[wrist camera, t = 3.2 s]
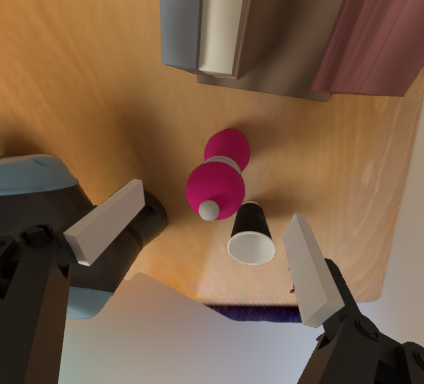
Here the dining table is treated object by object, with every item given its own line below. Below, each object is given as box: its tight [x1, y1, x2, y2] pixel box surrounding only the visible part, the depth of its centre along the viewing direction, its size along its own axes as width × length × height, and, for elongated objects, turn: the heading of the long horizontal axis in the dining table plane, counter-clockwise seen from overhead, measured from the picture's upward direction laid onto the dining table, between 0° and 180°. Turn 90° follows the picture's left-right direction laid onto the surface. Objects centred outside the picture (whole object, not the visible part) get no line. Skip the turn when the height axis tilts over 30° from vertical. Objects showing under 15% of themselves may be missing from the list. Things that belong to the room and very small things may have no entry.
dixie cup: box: [227, 201, 276, 265], centre depth 32 cm, size 8×8×11 cm
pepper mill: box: [186, 129, 250, 221], centre depth 22 cm, size 7×7×20 cm
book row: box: [160, 0, 424, 102], centre depth 16 cm, size 19×14×14 cm
